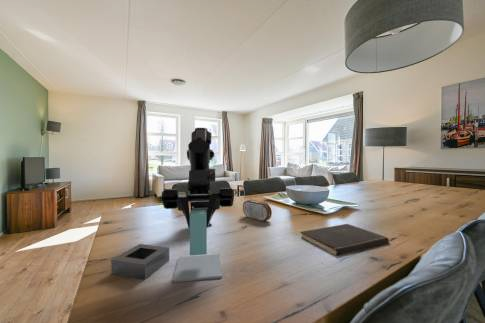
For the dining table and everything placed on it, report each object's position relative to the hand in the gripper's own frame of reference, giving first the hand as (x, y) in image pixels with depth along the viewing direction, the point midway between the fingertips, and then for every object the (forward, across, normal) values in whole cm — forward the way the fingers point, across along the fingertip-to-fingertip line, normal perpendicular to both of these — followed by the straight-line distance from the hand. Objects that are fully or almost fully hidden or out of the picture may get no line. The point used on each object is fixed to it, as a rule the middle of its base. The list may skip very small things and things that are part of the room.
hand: (198, 227), depth 52 cm
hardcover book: (0, +48, +17) cm, 50 cm away
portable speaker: (-20, +24, +36) cm, 48 cm away
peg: (+4, 0, +6) cm, 7 cm away
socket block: (+5, -14, +10) cm, 18 cm away
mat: (+7, 0, +8) cm, 11 cm away
